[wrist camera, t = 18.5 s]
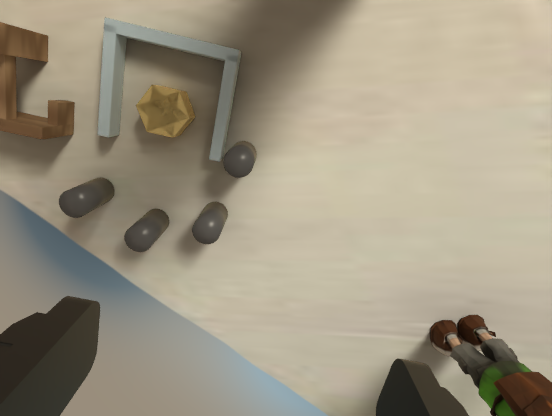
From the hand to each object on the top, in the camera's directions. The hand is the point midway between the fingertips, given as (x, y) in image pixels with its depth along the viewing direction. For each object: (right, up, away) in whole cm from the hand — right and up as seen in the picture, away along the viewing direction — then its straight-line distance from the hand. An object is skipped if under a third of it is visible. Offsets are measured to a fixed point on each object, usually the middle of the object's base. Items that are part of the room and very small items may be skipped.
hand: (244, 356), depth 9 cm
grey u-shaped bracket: (-11, +16, +28) cm, 35 cm away
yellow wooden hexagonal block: (-11, +15, +29) cm, 35 cm away
